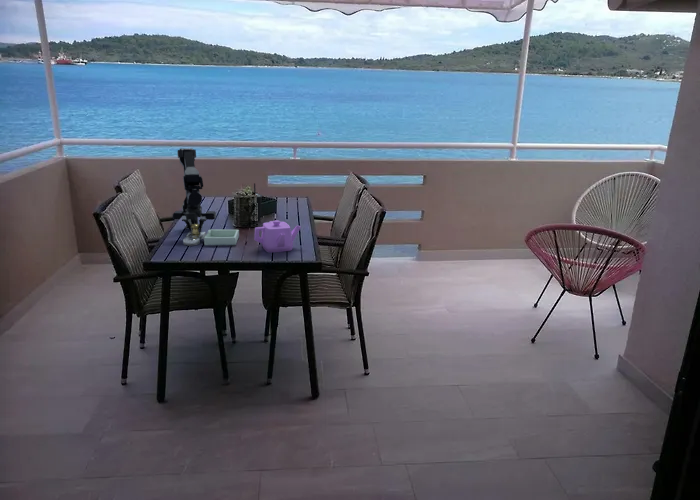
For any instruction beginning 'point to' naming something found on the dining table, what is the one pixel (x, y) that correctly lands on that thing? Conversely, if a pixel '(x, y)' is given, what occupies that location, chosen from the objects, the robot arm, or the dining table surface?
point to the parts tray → (221, 237)
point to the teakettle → (276, 236)
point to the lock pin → (195, 229)
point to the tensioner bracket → (193, 239)
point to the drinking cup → (259, 199)
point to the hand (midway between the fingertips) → (195, 233)
